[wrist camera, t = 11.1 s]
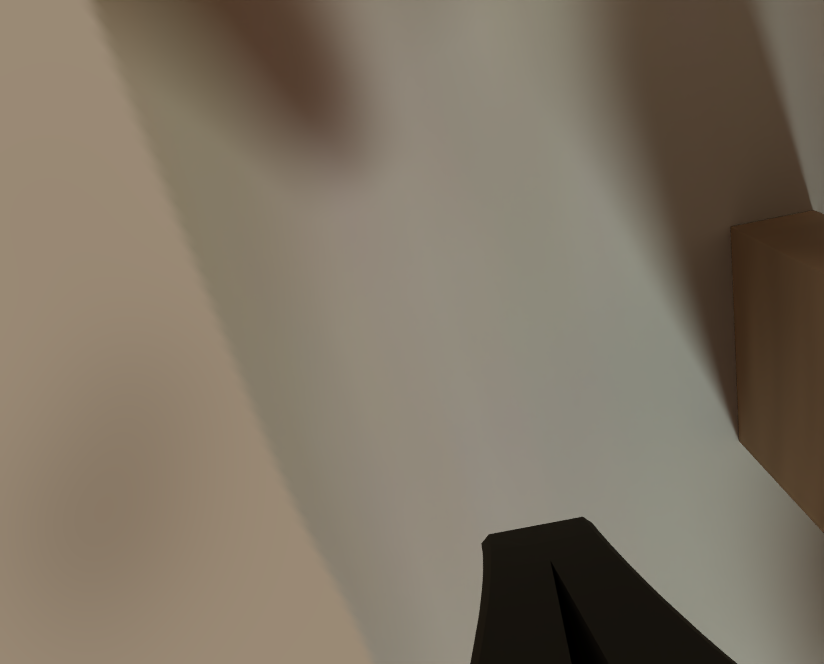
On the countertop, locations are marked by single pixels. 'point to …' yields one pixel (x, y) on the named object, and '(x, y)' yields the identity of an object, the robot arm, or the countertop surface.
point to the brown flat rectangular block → (782, 351)
